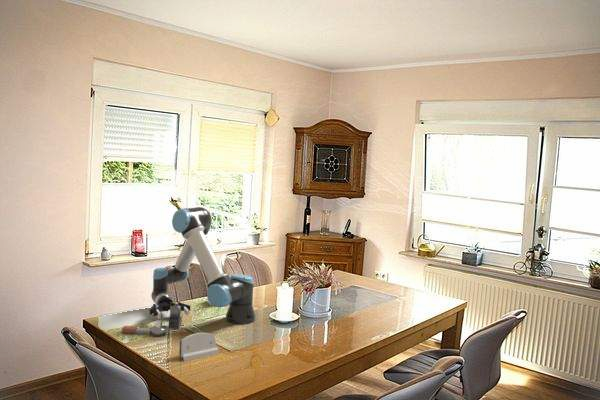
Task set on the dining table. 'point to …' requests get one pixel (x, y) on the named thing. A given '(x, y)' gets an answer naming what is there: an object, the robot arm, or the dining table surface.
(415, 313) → the dining table surface
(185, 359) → the hinge
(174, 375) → the dining table surface
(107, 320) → the dining table surface
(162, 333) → the ratchet
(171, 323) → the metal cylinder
